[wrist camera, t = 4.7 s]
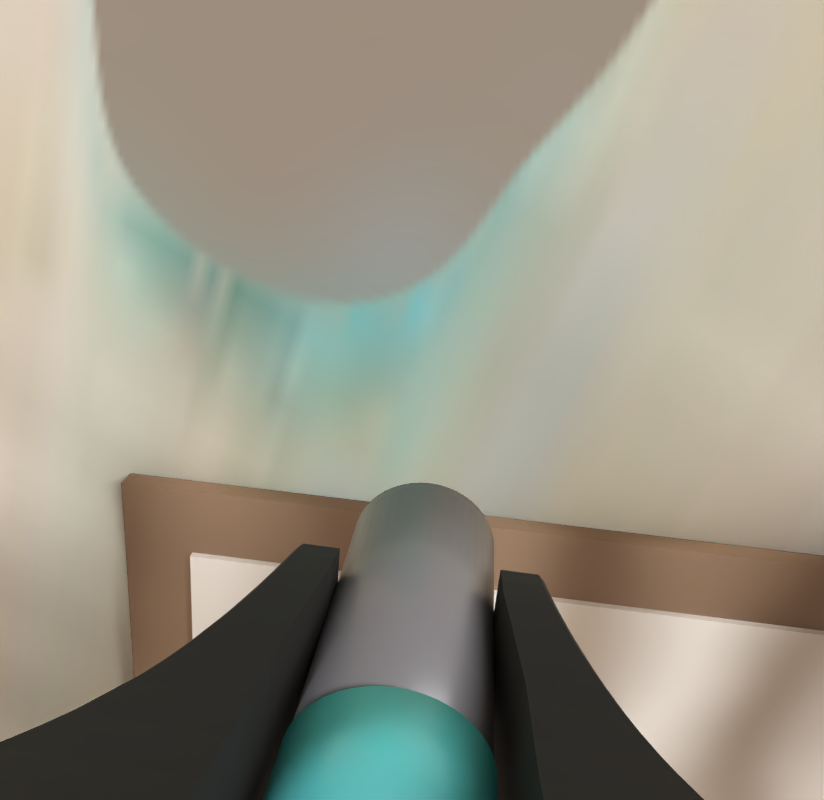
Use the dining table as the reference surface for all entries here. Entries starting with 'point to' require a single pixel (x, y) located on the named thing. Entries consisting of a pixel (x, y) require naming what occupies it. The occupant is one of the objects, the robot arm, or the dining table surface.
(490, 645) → the marker
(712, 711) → the drawing pad
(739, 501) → the dining table surface
